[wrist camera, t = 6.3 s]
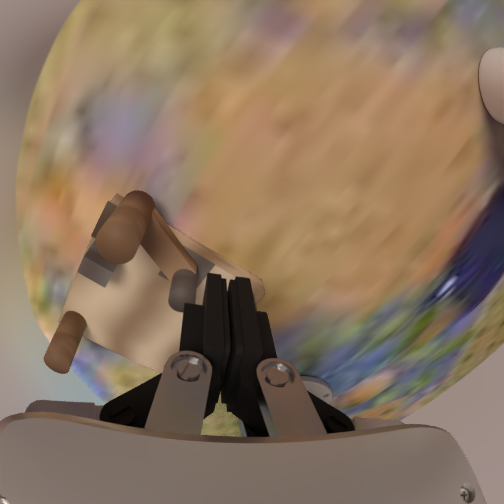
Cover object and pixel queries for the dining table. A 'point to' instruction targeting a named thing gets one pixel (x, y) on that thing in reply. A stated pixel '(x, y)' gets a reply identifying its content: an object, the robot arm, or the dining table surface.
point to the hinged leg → (149, 245)
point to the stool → (131, 303)
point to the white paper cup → (493, 82)
